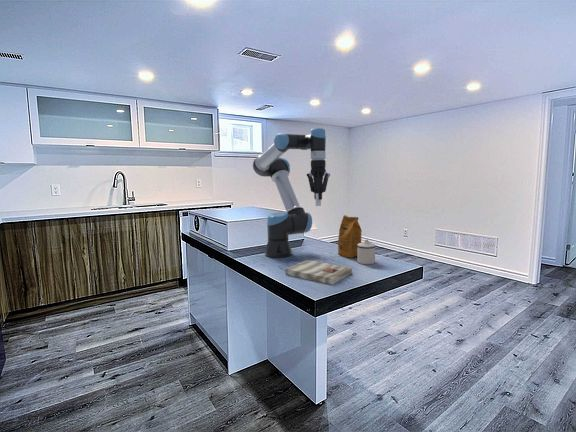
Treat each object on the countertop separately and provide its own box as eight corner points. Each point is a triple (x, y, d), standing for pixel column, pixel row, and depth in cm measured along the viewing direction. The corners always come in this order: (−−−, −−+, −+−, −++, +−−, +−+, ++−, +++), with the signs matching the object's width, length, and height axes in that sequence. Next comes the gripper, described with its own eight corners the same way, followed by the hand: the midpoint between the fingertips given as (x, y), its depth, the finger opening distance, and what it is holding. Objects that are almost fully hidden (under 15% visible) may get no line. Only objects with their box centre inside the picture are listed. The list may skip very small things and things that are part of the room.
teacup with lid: (379, 263, 159) (379, 240, 157) (363, 265, 155) (364, 242, 154) (365, 257, 170) (365, 236, 168) (350, 259, 166) (350, 237, 165)
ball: (320, 270, 141) (327, 266, 138) (325, 268, 144) (331, 264, 141) (325, 278, 140) (331, 274, 137) (330, 276, 143) (336, 272, 140)
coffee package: (349, 251, 183) (349, 213, 180) (363, 256, 172) (364, 216, 169) (335, 254, 178) (335, 215, 175) (349, 259, 167) (349, 217, 164)
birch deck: (285, 274, 144) (285, 268, 144) (307, 264, 158) (307, 259, 158) (332, 284, 130) (332, 278, 129) (351, 273, 144) (351, 267, 144)
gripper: (303, 160, 162) (303, 205, 166) (325, 159, 155) (325, 207, 158) (311, 160, 168) (311, 204, 171) (333, 159, 160) (332, 205, 164)
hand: (318, 205), depth 165 cm, fingers closed
